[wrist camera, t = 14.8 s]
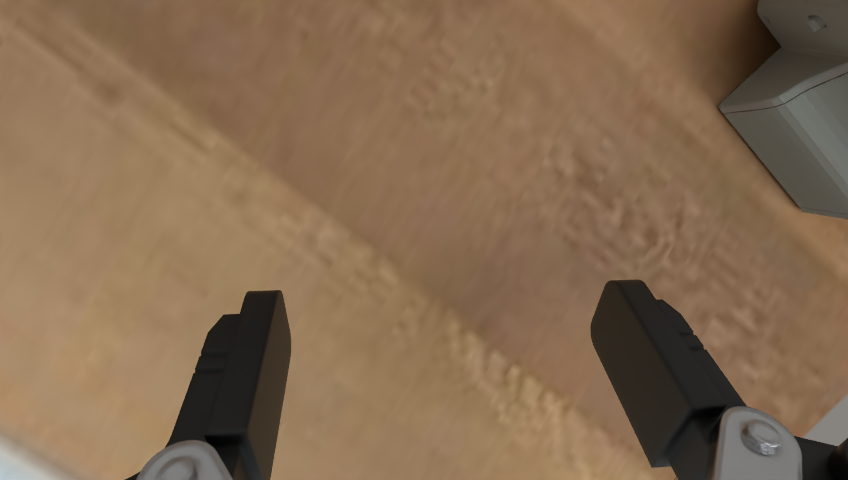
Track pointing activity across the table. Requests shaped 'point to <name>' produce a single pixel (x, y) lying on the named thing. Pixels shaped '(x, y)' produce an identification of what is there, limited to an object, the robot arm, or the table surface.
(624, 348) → the robot arm
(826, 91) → the digital clock
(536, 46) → the table surface
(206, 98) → the table surface
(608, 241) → the table surface
